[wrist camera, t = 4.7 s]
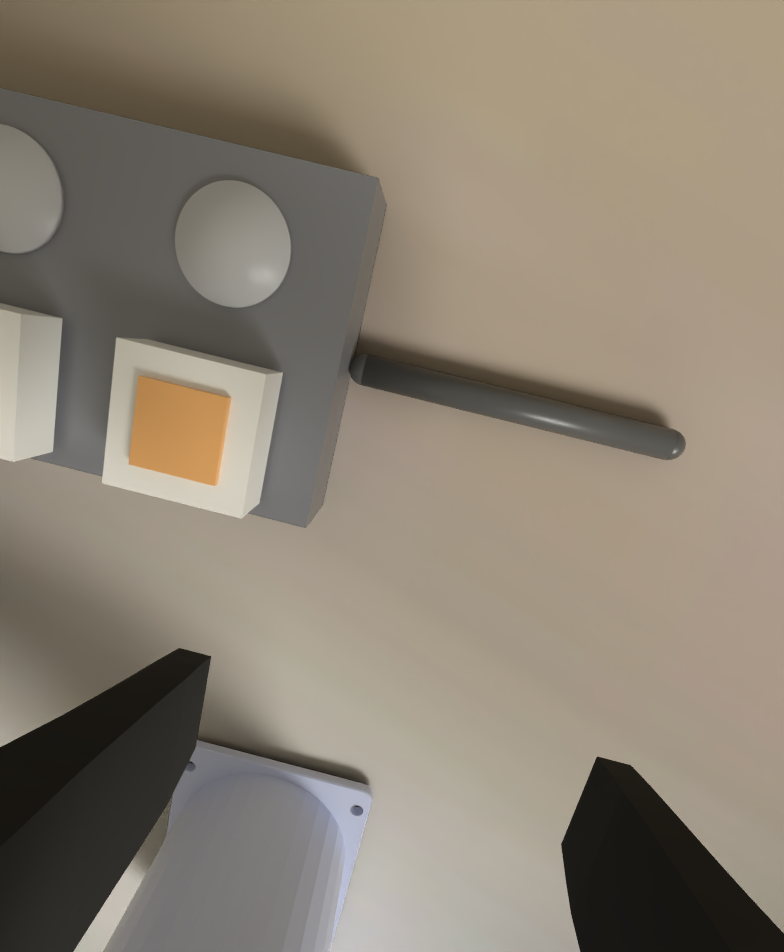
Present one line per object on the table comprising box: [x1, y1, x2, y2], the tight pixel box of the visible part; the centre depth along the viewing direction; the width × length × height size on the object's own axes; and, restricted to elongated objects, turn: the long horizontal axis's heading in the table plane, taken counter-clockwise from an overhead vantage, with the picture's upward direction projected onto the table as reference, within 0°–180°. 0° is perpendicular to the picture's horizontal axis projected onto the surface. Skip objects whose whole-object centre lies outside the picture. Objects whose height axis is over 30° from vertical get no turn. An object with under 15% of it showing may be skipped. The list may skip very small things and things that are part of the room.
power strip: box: [0, 88, 686, 528], centre depth 16 cm, size 10×31×3 cm, turn 77°
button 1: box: [102, 337, 283, 519], centre depth 14 cm, size 4×4×2 cm
